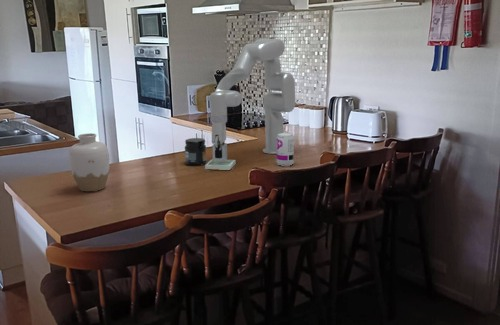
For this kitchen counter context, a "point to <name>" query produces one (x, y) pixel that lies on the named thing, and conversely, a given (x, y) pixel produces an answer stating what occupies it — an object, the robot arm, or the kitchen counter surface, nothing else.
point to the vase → (89, 163)
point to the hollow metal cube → (224, 152)
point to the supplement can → (285, 149)
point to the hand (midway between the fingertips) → (220, 156)
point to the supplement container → (195, 151)
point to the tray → (220, 164)
